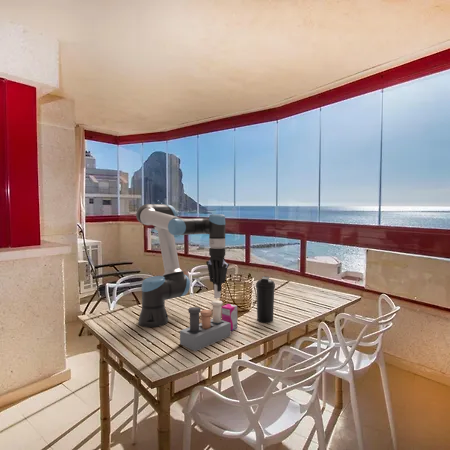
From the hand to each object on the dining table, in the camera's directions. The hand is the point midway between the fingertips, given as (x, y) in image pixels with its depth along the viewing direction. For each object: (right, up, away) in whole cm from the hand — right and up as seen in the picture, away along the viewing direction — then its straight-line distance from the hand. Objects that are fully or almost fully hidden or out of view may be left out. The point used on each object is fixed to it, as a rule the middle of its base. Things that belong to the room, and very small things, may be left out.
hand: (217, 297), depth 137 cm
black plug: (-10, -12, -10) cm, 18 cm away
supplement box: (+6, -18, +9) cm, 21 cm away
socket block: (-5, -18, -4) cm, 19 cm away
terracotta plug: (-5, -14, -4) cm, 16 cm away
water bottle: (+25, -17, +21) cm, 37 cm away
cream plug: (0, -11, +1) cm, 11 cm away
